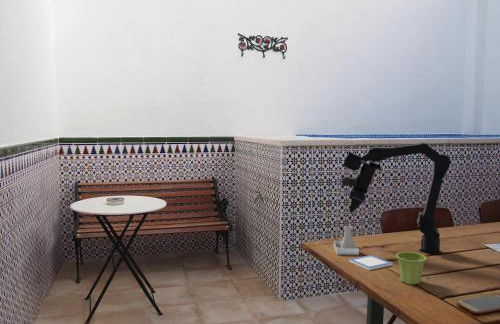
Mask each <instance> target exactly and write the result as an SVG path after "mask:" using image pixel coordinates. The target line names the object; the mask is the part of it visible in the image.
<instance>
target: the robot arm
mask: <svg viewBox="0 0 500 324" xmlns="http://www.w3.org/2000/svg"><path fill="white" fill-rule="evenodd" d="M418 154H423V155H424V156H426V158H428V159H429V160H431V161H432V178H431V183H430V187H429V190H428V195H427V198H426V203H425V207H424V209H423V211H419V212H418V218H417V219H416V224H417V225H418V230H419V232H420V233H422V235H421V240H420V241H421V242H420V244H421V245H420V248H419V249H418V251H420V252H422V253H426V254H429V255H436V254H441V253H443V250H441V249H440V248H441V246H440V245H441V237H440V235H441V234H440V231H439V229H438V228H437V227H436V226H435V219H436V218H435V215H436V214H435V213H436V210H437V209H436V208H437V204H438V199H439V195H440V193H441V192H440V191H441V189H442V186H443V185H442V184H443V180H444V178H445V176H446V174H447V172H448V170H449V168H450V165H451V163H452V162H451V159H450V157H449V156H448V155H447V154H446V153H441V152H440V153H439V152H438V151H436V150H435V149H434V148H432V147H431V146H430V145H429V144H428V143H426V142H420V143H415V144H409V145H408V144H407V145H400V146H393V147H392V146H391V147H387V146H373V147H371V148H370V149H369V151H368V152H367V153H365V154H363V155H362V156H361V155H358V154H356V153H354V152H352V151H349V152H348V153H347V156H346V157H345V159H344V161H343V164H342V167H343V168H346V169H348V170H351V171H353V172H356V171H359V172H358V173H359V174H358V175H357V176H356V177H350V176H343V177H342V178H341V186H342V187H346V186H347V187H352V189H350V192H349V198H350V200H351V202H350V206H349V210H348V211H349V213H351V214H352V213H354V211H356V209H358V208H359V206H360V205H362V203H364V201H365V200H366V198H367V194H368V192H369V188H370V186H371V184H372V181H373V178H374V176H375V174H376V172H377V170H378V171H382V170H383V167H382V166H381V162H380V161H384V160H388V159H389V158H393V157H394V158H395V157H402V156H410V155H418ZM369 161H370V162H369ZM378 162H379V163H378Z"/></svg>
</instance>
